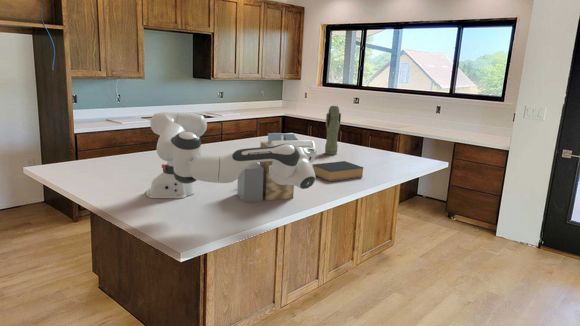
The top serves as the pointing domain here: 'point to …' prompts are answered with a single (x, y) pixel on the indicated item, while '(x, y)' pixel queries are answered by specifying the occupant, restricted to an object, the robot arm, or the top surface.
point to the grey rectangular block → (251, 183)
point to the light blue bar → (279, 137)
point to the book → (337, 170)
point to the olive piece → (332, 130)
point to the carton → (269, 187)
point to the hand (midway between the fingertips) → (288, 136)
